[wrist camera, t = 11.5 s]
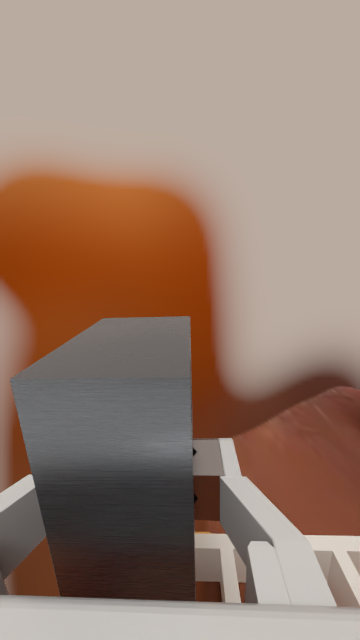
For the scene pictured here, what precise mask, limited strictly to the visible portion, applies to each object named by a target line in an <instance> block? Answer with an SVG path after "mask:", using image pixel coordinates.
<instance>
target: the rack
mask: <svg viewBox="0 0 360 640" xmlns="http://www.w3.org/2000/svg"><path fill="white" fill-rule="evenodd" d="M304 536H305V537H306V538H307V539H308V540H309V542H310V544H311V546H312V549H313V551H314V553H315V556H316V558H317V560H318V563H319V565H320V567H321V570H322V572H323V574H324V577H325V579H326V581H327V584H328V586H329V588H330V591H331V593H332V595H333V598H334V600H335V602H336V605H337V606H341V607H360V536H320V535H304ZM246 568H247V567H246V566H245V564H244V562H243V561H242V559H241V557H240V556H239V554H238V552H237V551H236V549H235V547H234V546H233V544H232V542H231V541H230V539H229V537H228V536H227V534H211V533H210V532H195V569H196V581H206V582H220V587H221V598H222V602H226V603H241V599H240V593H239V586H238V582H243V583H246Z"/></svg>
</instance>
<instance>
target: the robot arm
mask: <svg viewBox="0 0 360 640" xmlns="http://www.w3.org/2000/svg"><path fill="white" fill-rule="evenodd" d="M193 489H194V520H208V521H220V524H221V526H222V527H223V529H224V531H225V532H226V534H227V536H228V537H229V539H230V541H231V542H232V544H233V546H234V547H235V549H236V551H237V552H238V554H239V556H240V557H241V559H242V561H243V562H244V564H245V566H246V567H247V568H246V587H245V603H226V602H197V601H168V600H139V599H110V598H80V597H50V596H47V597H46V596H18V595H9V594H8V591H7V588H6V585H5V581H4V580H5V578H7V576H8V575H9V574H10V573H11V572H12V571H13V570H14V569H15V568H16V567H17V566H18V565H19V564H20V563H21V562H22V561H23V560H24V559H25V558H26V556H28V555H29V554H30V552H31V551H32V550H33V549H34V548H35V547H36V546H37V545H38V544H39V543H40V542H41V541H42V540H43V539H44V538H45V537H46V532H45V528H44V524H43V519H42V515H41V511H40V506H39V502H38V498H37V494H36V489H35V485H34V481H33V476H32V475H28V476H26V477H24V478H23V479H21V480H20V481H18V482H17V483H15V484H14V485H12V486H11V487H9V488H8V489H6V490H5V491H3V492H2V493H0V640H360V607H341V606H337V605H336V602H335V600H334V598H333V595H332V593H331V591H330V588H329V586H328V584H327V581H326V579H325V577H324V574H323V572H322V570H321V567H320V565H319V563H318V560H317V558H316V556H315V553H314V551H313V549H312V546H311V544H310V542H309V540H308V539H307V538H306V537H305V536H304V535H303V534H302V533H301V532H300V531H299V530H298V529H297V528H296V527H295V526H294V525H293V524H292V523H291V522H290V521H289V520H288V519H287V518H286V517H285V516H284V515H283V514H282V513H281V512H280V511H279V510H278V509H277V508H276V507H275V506H274V505H273V504H272V503H271V502H270V501H269V500H268V498H267V497H266V496H265V495H264V494H263V493H262V492H261V491H260V490H259V489H258V488H257V487H256V486H255V485H254V484H253V483H252V482H251V481H250V480H249V479H248V478H247V477H242V475H241V471H240V467H239V463H238V459H237V455H236V451H235V447H234V443H233V440H232V438H218V439H193Z"/></svg>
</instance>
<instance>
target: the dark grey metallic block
mask: <svg viewBox="0 0 360 640" xmlns="http://www.w3.org/2000/svg"><path fill="white" fill-rule="evenodd" d="M190 341H191V340H190V316H188V317H148V318H147V317H145V318H143V317H142V318H103V319H102V320H100V321H99V322H97V323H96V324H94V325H93V326H91V327H90V328H88V329H86V330H85V331H83V332H82V333H80V334H79V335H77V336H76V337H74V338H73V339H71V340H70V341H68V342H66V343H65V344H63V345H62V346H60V347H59V348H57V349H56V350H54V351H52V352H51V353H49V354H48V355H46V356H45V357H43V358H42V359H40V360H39V361H37V362H36V363H34V364H32V365H31V366H29V367H28V368H26V369H25V370H24V371H22V372H20V373H19V374H17V375H15V376H14V377H12V378H11V379H10V382H11V386H12V391H13V395H14V399H15V404H16V408H17V412H18V416H19V421H20V424H21V429H22V434H23V438H24V442H25V446H26V451H27V455H28V459H29V464H30V468H31V472H32V476H33V481H34V485H35V489H36V494H37V498H38V502H39V506H40V511H41V515H42V519H43V524H44V528H45V532H46V536H47V541H48V545H49V549H50V553H51V558H52V562H53V566H54V571H55V575H56V579H57V584H58V588H59V592H60V597H80V598H110V599H139V600H168V601H196V569H195V526H194V525H195V520H194V489H193V430H192V387H191V386H192V385H191V345H190V344H191V342H190Z"/></svg>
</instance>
